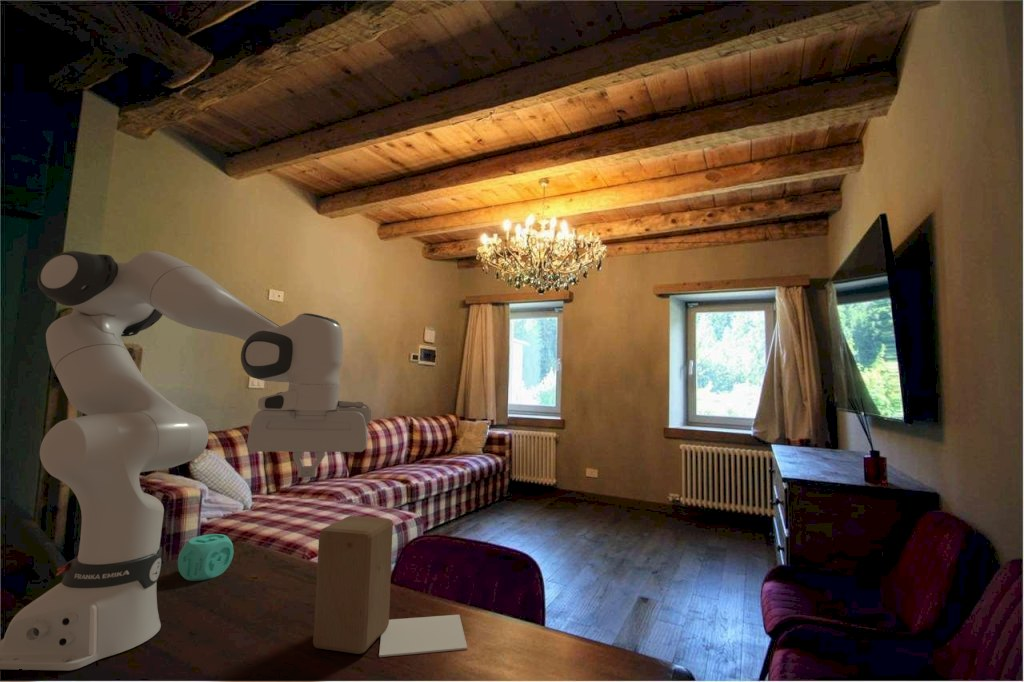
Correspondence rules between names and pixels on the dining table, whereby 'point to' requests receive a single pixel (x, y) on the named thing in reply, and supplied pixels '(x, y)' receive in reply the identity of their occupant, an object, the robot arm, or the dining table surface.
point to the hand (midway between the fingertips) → (307, 476)
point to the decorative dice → (205, 557)
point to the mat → (422, 635)
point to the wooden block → (353, 584)
